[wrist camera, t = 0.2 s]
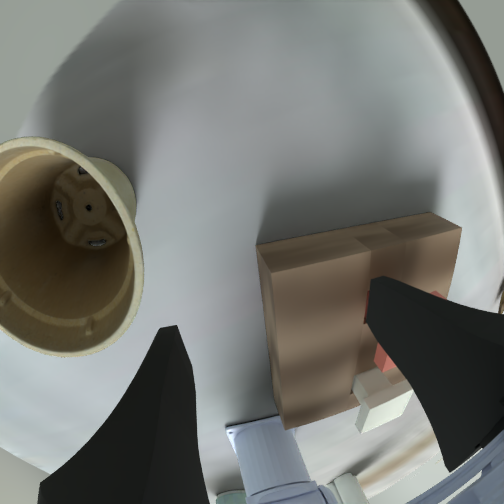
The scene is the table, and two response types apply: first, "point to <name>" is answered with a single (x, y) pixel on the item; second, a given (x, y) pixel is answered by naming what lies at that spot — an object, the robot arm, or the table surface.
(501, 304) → the ceramic sculpture
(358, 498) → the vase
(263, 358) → the table surface
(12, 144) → the flower pot
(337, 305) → the panel
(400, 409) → the cream button
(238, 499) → the disposable coffee cup
